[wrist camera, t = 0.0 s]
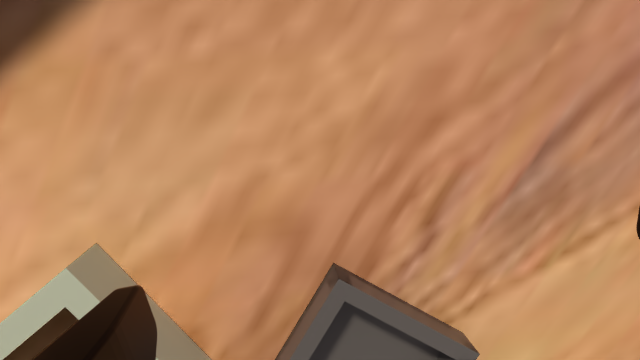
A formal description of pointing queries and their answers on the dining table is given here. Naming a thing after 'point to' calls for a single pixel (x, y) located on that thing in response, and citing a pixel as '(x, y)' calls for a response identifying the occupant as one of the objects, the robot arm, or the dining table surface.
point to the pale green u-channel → (90, 306)
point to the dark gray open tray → (369, 326)
